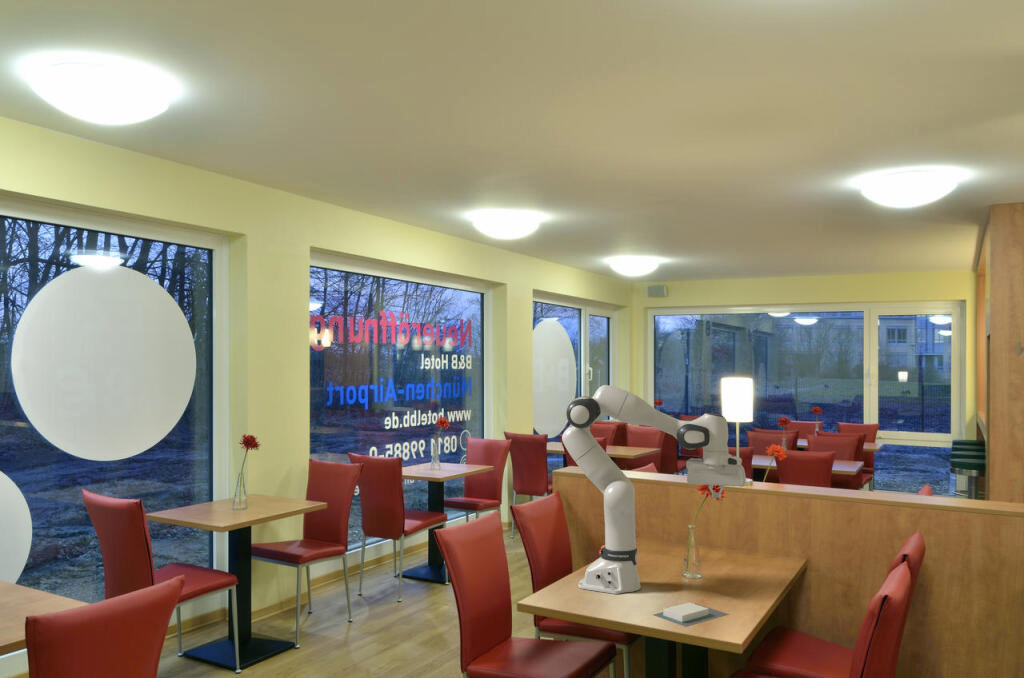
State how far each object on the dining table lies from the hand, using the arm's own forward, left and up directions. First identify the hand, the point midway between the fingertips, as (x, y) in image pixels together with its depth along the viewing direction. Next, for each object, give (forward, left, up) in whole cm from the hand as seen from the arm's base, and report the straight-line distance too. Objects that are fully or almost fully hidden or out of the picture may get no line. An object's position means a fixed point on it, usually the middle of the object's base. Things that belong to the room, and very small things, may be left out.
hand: (716, 497), depth 270 cm
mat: (-6, -30, -33) cm, 45 cm away
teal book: (-4, -27, -31) cm, 42 cm away
